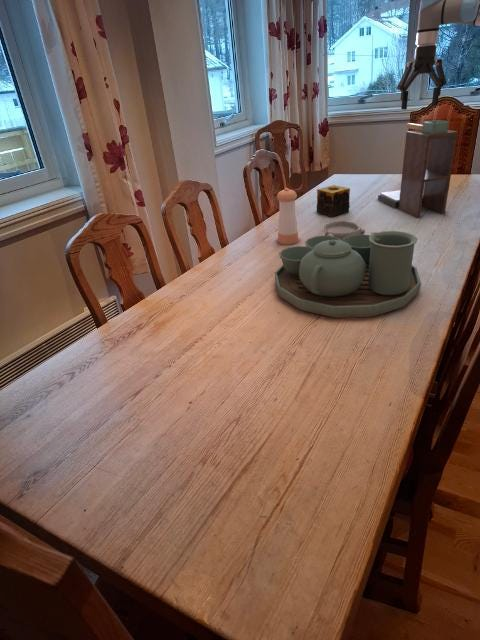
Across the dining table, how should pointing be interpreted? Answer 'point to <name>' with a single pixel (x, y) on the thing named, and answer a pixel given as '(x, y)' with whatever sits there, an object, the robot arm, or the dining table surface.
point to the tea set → (350, 274)
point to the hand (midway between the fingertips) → (419, 107)
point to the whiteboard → (390, 198)
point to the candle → (333, 200)
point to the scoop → (431, 126)
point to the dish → (342, 229)
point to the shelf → (426, 171)
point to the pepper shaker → (287, 217)
